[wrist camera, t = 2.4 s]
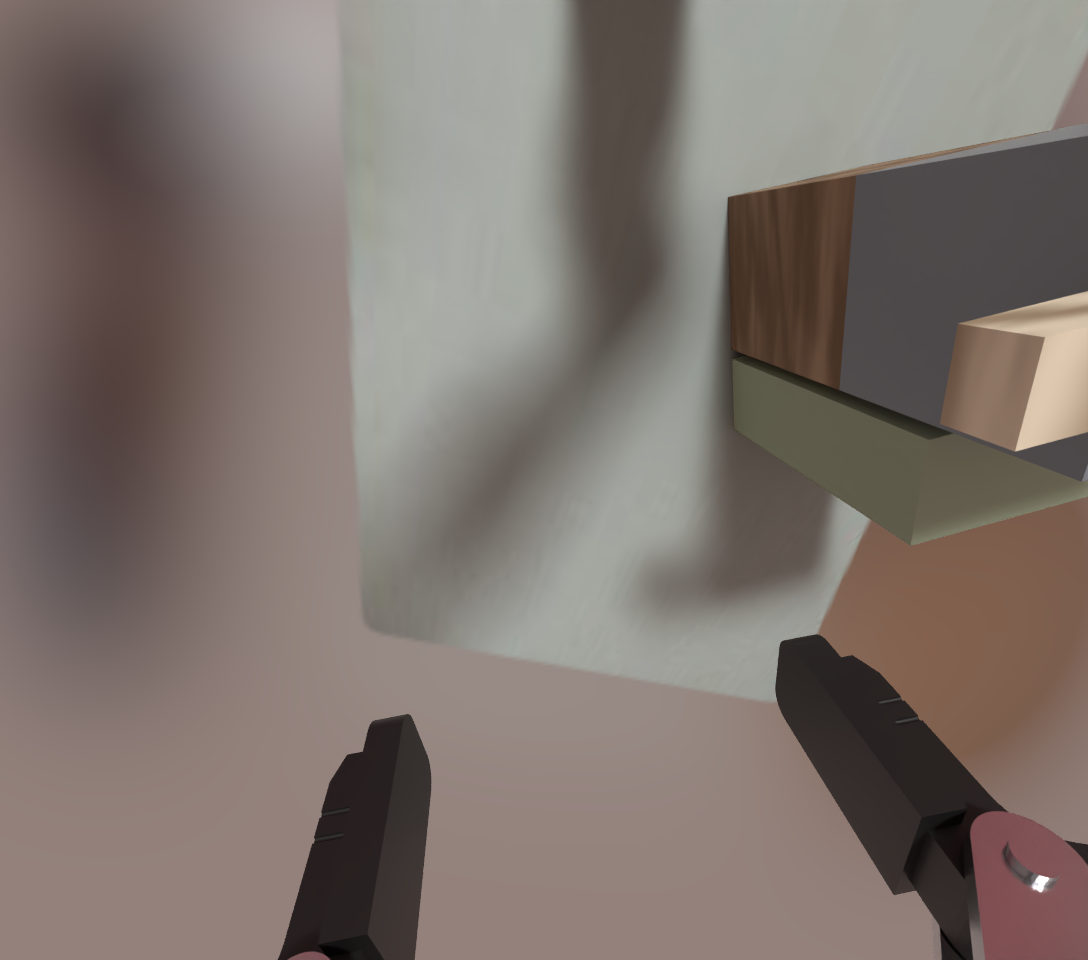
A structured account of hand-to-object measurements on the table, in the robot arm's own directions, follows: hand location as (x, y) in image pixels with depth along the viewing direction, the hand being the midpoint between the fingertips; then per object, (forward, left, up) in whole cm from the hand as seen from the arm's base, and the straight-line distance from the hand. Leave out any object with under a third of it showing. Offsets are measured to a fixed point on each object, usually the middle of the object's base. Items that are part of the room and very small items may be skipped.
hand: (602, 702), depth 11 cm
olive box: (+27, +20, -41) cm, 53 cm away
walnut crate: (+17, +26, -41) cm, 52 cm away
